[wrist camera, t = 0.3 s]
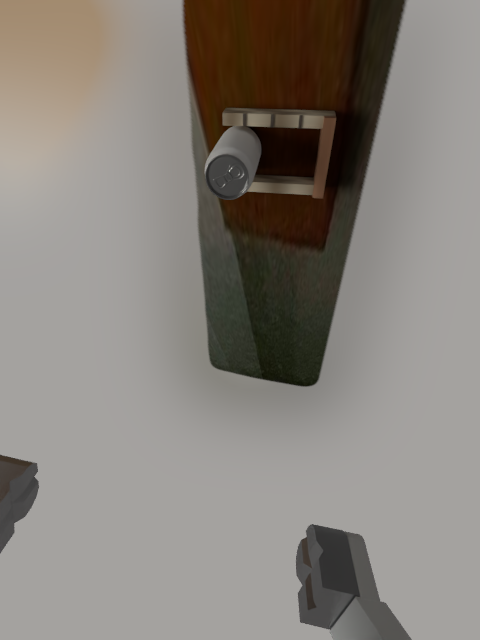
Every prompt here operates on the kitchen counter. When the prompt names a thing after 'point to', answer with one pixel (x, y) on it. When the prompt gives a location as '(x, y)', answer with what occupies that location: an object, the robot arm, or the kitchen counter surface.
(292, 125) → the wooden rack
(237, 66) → the kitchen counter surface
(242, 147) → the can
